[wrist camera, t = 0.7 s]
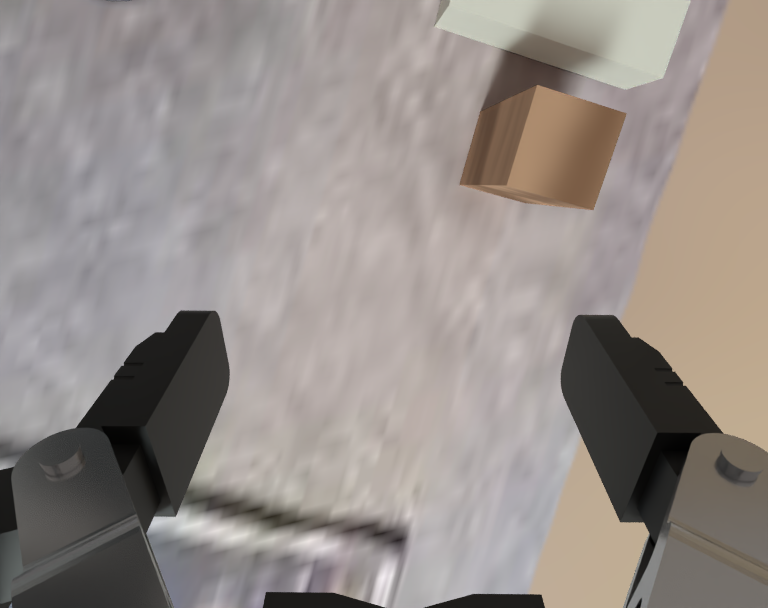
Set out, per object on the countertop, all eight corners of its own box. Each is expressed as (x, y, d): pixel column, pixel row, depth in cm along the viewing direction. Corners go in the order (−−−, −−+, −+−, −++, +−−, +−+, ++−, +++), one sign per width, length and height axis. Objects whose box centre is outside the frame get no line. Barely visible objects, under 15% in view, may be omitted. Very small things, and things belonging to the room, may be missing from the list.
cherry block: (459, 184, 35) (506, 185, 25) (480, 111, 33) (537, 84, 24) (524, 202, 35) (593, 210, 26) (547, 131, 34) (626, 113, 25)
